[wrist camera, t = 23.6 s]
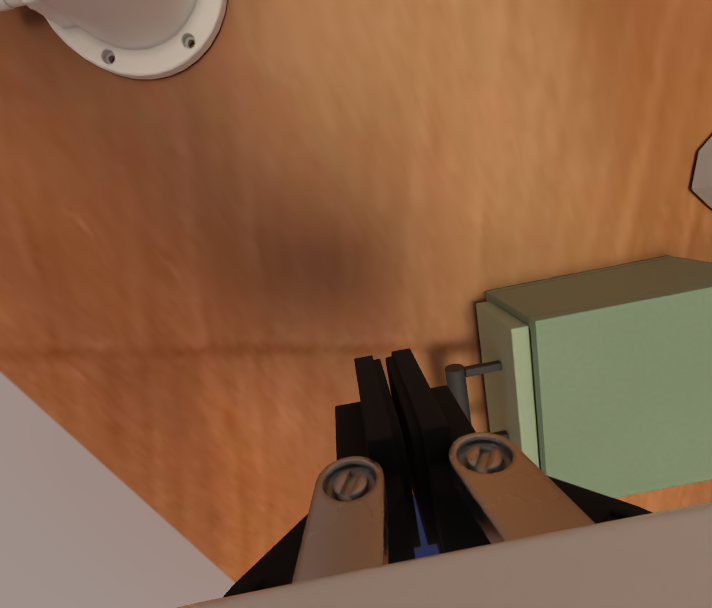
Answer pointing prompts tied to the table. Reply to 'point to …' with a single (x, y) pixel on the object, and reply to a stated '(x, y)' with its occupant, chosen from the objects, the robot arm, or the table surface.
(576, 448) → the cabinet
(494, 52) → the table surface
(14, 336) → the table surface
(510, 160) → the table surface
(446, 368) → the drawer
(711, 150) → the flask
